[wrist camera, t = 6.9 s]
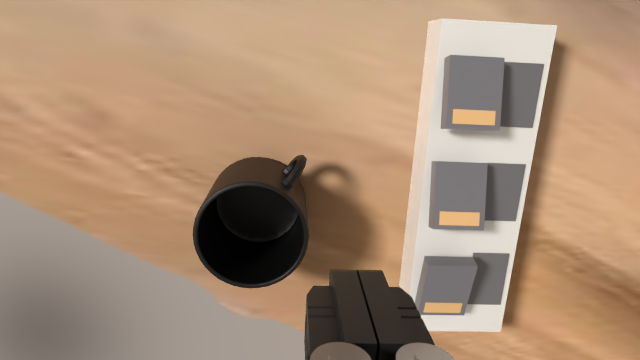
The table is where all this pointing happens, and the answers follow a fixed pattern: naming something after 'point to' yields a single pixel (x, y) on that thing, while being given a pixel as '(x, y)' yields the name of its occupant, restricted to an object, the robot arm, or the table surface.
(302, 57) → the table surface
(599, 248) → the table surface
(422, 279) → the block
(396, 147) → the table surface
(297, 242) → the mug
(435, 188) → the plate
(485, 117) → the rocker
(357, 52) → the table surface
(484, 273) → the power strip
